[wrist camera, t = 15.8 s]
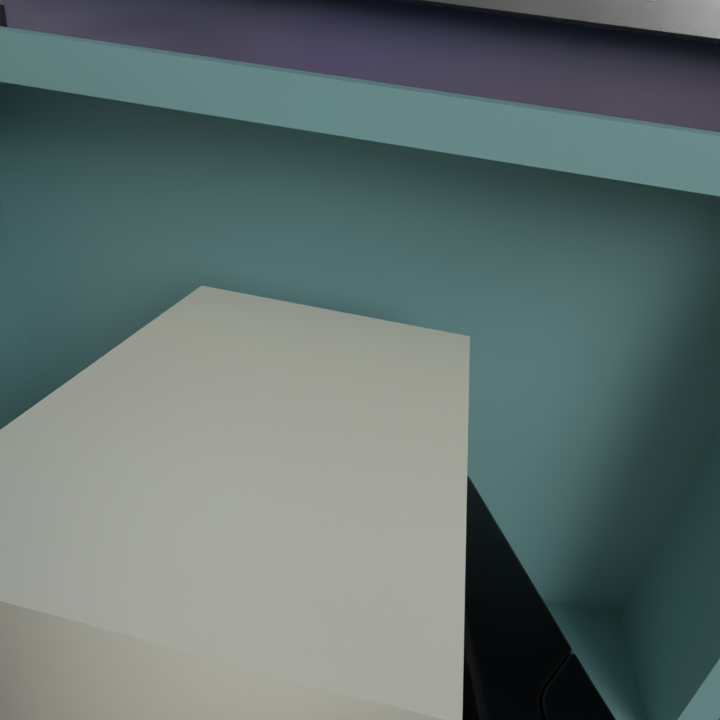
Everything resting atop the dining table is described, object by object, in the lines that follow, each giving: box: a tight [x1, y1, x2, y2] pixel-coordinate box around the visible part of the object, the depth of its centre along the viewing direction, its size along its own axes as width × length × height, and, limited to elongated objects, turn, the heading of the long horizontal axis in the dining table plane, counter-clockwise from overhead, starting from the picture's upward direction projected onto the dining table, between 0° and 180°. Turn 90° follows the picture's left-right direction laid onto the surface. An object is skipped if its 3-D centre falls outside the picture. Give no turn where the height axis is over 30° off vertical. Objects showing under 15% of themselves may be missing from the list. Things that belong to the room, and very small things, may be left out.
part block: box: [0, 286, 470, 720], centre depth 7 cm, size 4×4×6 cm
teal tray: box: [0, 26, 720, 720], centre depth 11 cm, size 11×16×5 cm
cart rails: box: [0, 0, 720, 44], centre depth 12 cm, size 16×29×2 cm, turn 83°
